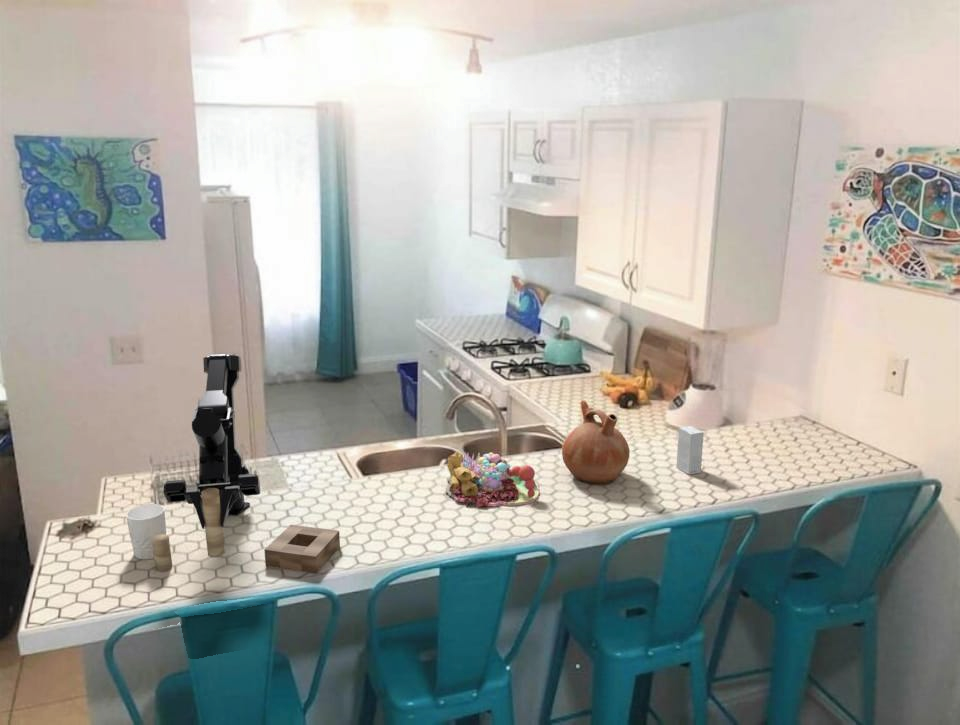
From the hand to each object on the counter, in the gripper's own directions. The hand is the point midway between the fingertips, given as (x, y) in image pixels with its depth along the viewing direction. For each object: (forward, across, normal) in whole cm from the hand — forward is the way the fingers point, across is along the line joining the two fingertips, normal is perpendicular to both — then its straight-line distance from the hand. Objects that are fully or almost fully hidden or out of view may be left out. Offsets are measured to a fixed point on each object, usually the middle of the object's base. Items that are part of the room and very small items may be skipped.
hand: (212, 527), depth 163 cm
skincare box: (-14, -123, -33) cm, 128 cm away
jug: (-16, -96, -34) cm, 102 cm away
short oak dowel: (+3, +12, -15) cm, 20 cm away
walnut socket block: (+4, -18, -14) cm, 23 cm away
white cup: (-2, +16, -21) cm, 26 cm away
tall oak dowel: (+4, 0, -6) cm, 7 cm away
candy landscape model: (-14, -66, -33) cm, 75 cm away
